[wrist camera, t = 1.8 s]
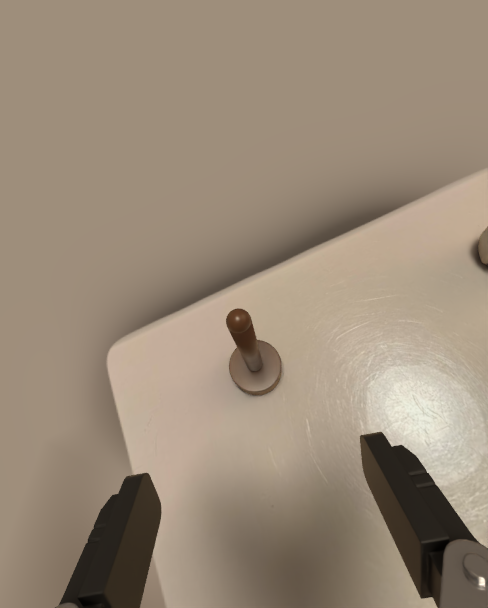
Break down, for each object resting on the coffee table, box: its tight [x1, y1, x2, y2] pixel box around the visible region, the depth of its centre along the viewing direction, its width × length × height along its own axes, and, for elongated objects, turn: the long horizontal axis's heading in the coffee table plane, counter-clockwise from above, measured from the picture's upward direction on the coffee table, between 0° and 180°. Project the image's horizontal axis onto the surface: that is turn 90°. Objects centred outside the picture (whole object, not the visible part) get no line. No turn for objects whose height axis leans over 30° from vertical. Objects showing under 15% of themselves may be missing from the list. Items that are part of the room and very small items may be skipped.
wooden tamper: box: [226, 309, 281, 395], centre depth 25 cm, size 5×5×15 cm
